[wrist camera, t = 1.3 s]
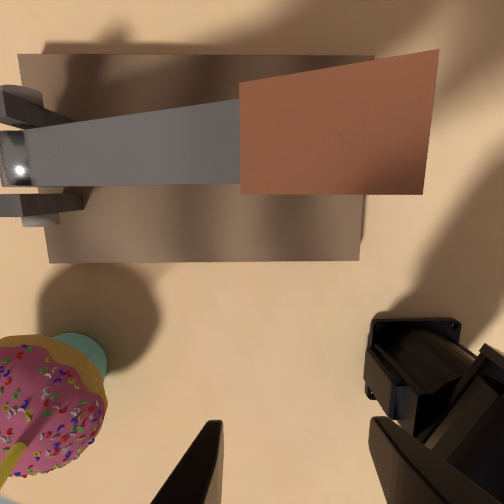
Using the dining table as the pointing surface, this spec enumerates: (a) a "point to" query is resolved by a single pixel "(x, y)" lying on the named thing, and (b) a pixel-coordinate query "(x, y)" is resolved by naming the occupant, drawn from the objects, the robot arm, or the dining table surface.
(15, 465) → the cupcake
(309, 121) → the lever
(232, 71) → the base
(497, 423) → the robot arm
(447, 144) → the dining table surface
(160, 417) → the dining table surface
